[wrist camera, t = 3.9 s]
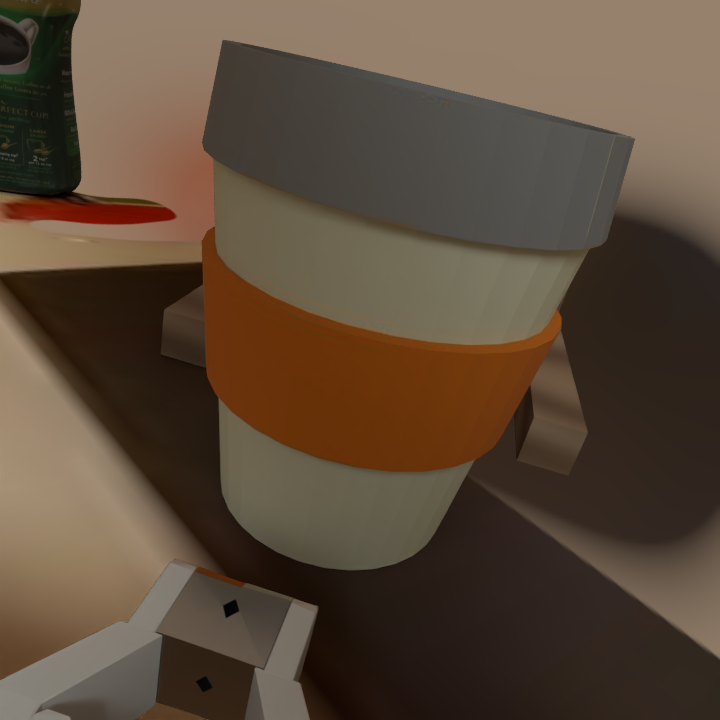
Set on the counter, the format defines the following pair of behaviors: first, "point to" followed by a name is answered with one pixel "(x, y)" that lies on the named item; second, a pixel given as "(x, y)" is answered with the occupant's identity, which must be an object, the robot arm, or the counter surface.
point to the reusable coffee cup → (380, 291)
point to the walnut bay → (532, 417)
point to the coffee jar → (38, 97)
